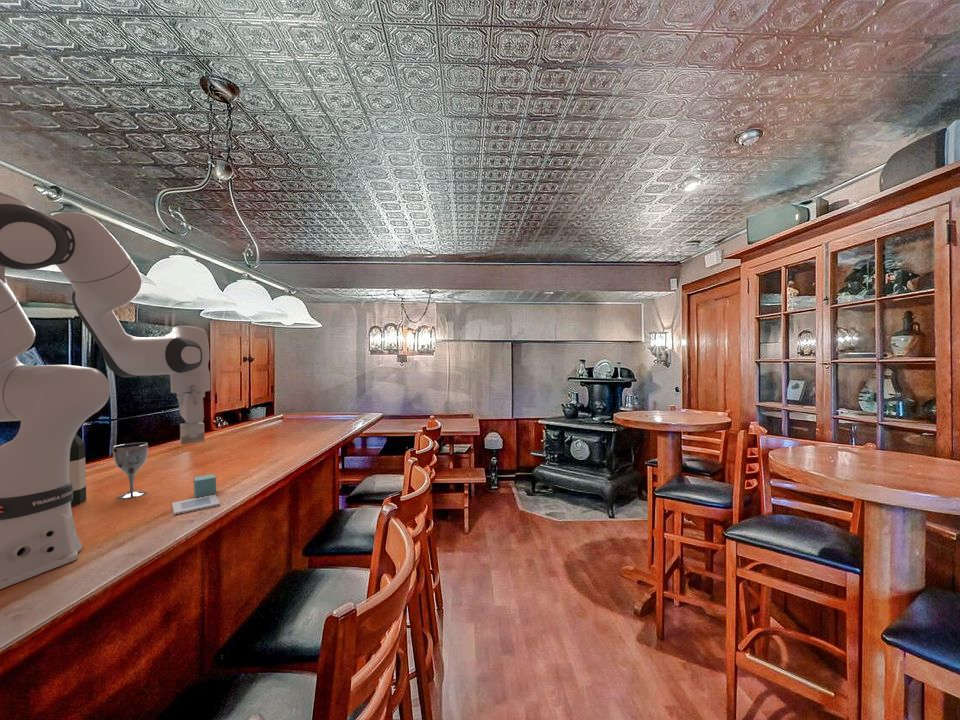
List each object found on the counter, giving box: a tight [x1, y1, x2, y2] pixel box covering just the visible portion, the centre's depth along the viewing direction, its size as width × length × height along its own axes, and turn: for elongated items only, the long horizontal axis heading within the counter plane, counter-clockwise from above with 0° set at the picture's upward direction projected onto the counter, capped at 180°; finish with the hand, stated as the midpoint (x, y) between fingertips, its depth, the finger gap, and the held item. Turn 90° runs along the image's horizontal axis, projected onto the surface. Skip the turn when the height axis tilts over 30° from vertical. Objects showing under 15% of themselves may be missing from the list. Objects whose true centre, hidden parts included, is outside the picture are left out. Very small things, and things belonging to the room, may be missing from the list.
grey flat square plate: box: [171, 493, 221, 516], centre depth 109 cm, size 10×10×1 cm
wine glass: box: [112, 441, 149, 500], centre depth 119 cm, size 8×8×15 cm
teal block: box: [193, 473, 217, 498], centre depth 119 cm, size 5×5×5 cm
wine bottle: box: [69, 433, 87, 507], centre depth 113 cm, size 8×8×30 cm
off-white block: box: [179, 421, 205, 445], centre depth 110 cm, size 5×5×5 cm
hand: (192, 435), depth 110 cm, fingers closed on off-white block, 5 cm apart
